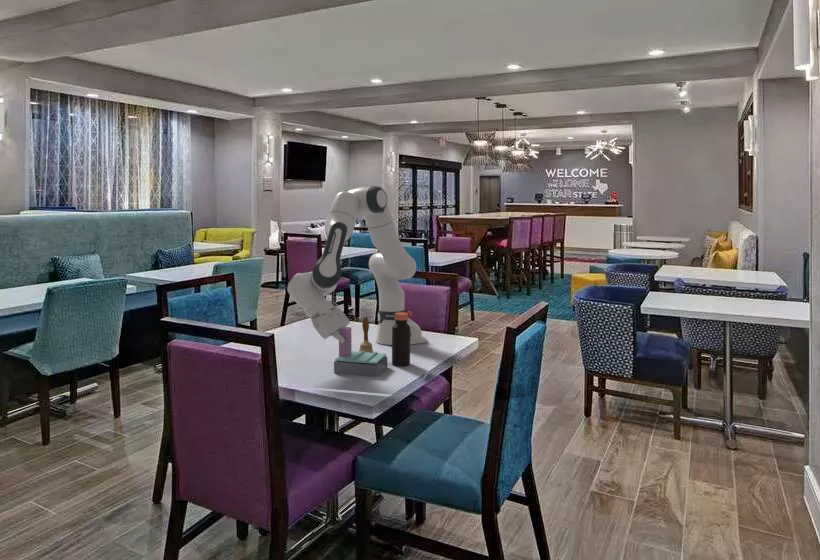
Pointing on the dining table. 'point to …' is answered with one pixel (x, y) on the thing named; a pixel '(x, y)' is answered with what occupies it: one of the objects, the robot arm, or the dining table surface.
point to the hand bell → (366, 338)
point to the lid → (352, 356)
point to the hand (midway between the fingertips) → (346, 340)
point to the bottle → (401, 340)
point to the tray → (360, 368)
